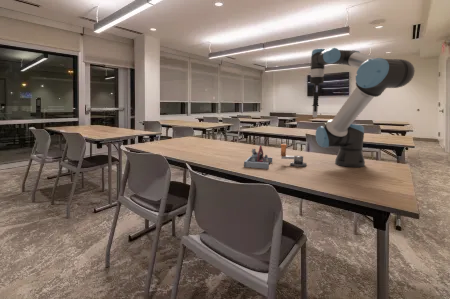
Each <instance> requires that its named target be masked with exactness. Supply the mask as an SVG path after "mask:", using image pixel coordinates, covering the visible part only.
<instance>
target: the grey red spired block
mask: <svg viewBox="0 0 450 299" xmlns="http://www.w3.org/2000/svg"><path fill="white" fill-rule="evenodd" d="M251 156H252V159H251V160H250V161H251V162H262V163H268V162H269V160H268V157H269V156H268V154H265V155H264V151H263V146H262V145H259V149H258V151H256V148H252V150H251Z"/></svg>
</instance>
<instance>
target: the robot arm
mask: <svg viewBox="0 0 450 299" xmlns="http://www.w3.org/2000/svg"><path fill="white" fill-rule="evenodd" d="M310 58H311V60H310V71H309V74H310V81H309V84H311V85H314V86H312V94H313V97H312V98H313V101H312V102H313V103H312V105H311V107H312V118H318V109H319V106H320V105H319V95H320V90H321V87H320V85H323V84H324V76H325V67H326V65H343V66H349V67H352V68H355V69H357V70H356V73H355V74H356V75H355V89H353V91H352V93H351V94H350V95H349V96H348V98H347V99H346V100H345V102H344V104H342V106H341V107H340V109H339V110H338V112H337V113H336V114H335V116H334V117H333V118H332V119H329V120H328V121H326V123H325V125H320V126H317V128H316V130H315V142H317V145H318V146H319V147H321V148H339V150H338V153H337V155H336V157H335V161H334V162H335V164H336V165H338V166H341V167H347V168H362V167H365V164H366V161H365V158H364V154H363V146H364V138H365V126H363V125H361V124H354V122H355V121H356V119H357V118H358V117H359V115H360V114H362V112H363V111H364V109H365V108H366V107H367V106H368V105H369V104H370V102H371V101H372V100H373V99H374V98H377V97H379V96H381V95H382V94H383V93H384V92H385V91H386V89H398V88H402V87H405V86H406V85H408V84H409V83H410V82H411V81H412V80H413V78H414V76H415V72H416V71H415V67H414V65H413V63H412V62H411V61H409V60H406V59H401V58H400V59H398V58H383V57H379V56H375V55H371V54H367V53H364V52H361V51H359V50H356V49H355V50H347V49H346V50H345V49H344V50H343V49H338V48H336V47H332V48H328V49H325V48H314V49H313V50H312V51H311V57H310Z"/></svg>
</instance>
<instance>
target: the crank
mask: <svg viewBox="0 0 450 299" xmlns="http://www.w3.org/2000/svg"><path fill="white" fill-rule="evenodd" d="M287 146H288V145H287V144H286V143H285V144H283V143H280V156H281V159H284V160H293V162H294V163H295V164H303V162H304V156H303V155H287Z"/></svg>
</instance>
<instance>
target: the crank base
mask: <svg viewBox="0 0 450 299" xmlns="http://www.w3.org/2000/svg"><path fill="white" fill-rule="evenodd" d="M289 165H290V166H291V167H296V168H304V167H305V168H306V167H307V162H304V161H303V164H295V163H294V161H291V162H289Z"/></svg>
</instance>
